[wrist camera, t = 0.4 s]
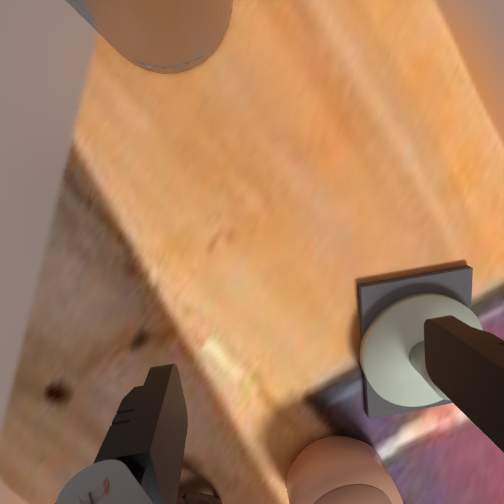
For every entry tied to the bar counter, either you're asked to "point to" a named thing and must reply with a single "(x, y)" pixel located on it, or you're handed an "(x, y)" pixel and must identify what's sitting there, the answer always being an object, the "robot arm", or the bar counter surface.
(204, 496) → the pottery mug
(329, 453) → the bowl
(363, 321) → the mat
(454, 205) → the bar counter surface
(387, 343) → the lid
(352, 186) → the bar counter surface
